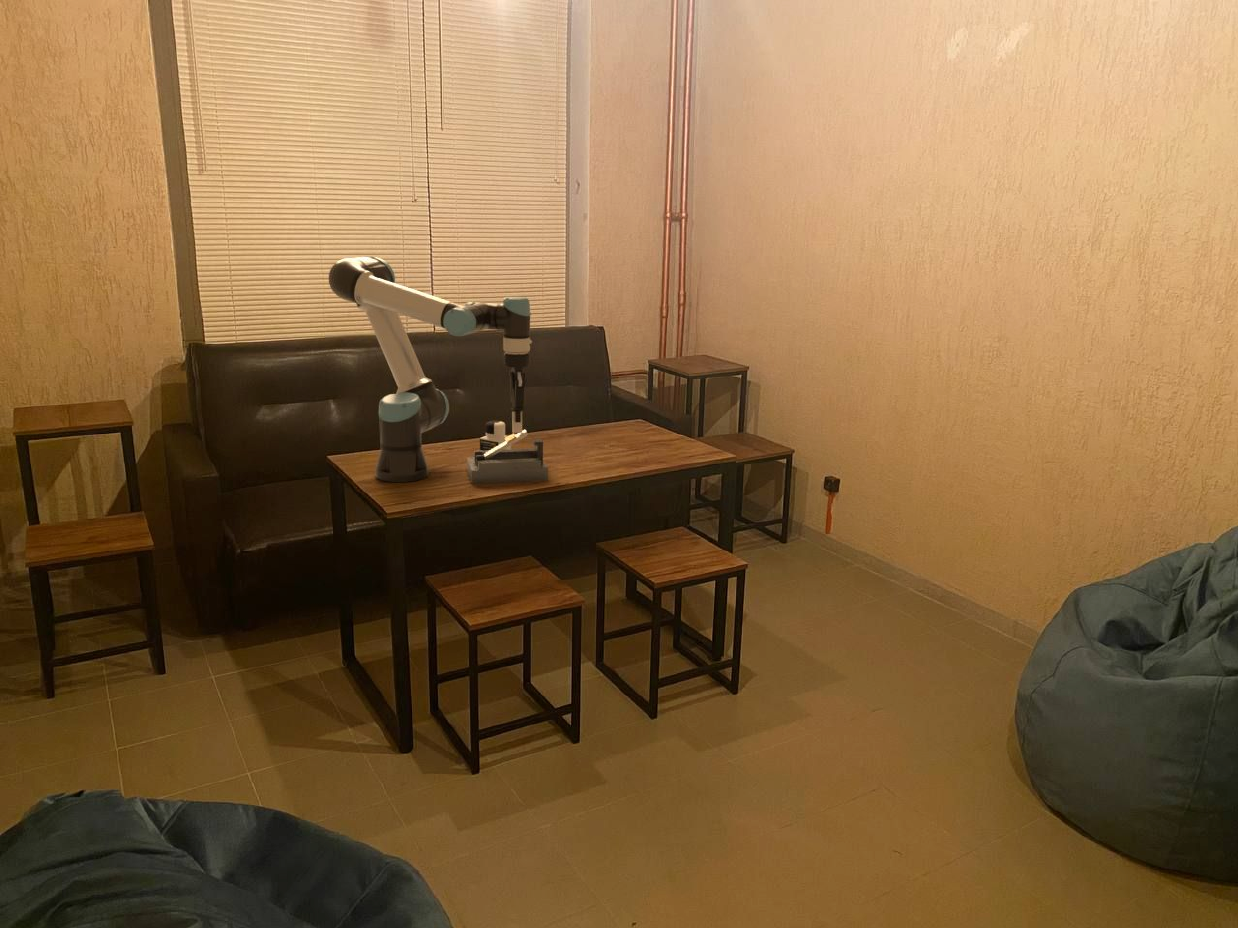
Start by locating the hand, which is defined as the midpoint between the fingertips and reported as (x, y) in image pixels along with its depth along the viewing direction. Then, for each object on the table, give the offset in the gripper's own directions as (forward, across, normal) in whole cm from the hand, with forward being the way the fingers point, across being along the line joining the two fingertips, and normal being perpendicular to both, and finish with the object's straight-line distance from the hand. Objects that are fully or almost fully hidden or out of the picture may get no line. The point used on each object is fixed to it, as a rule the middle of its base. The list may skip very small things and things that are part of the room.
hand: (517, 432), depth 262 cm
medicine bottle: (+13, +18, +4) cm, 23 cm away
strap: (+5, 0, +4) cm, 6 cm away
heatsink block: (+13, 0, +3) cm, 13 cm away
